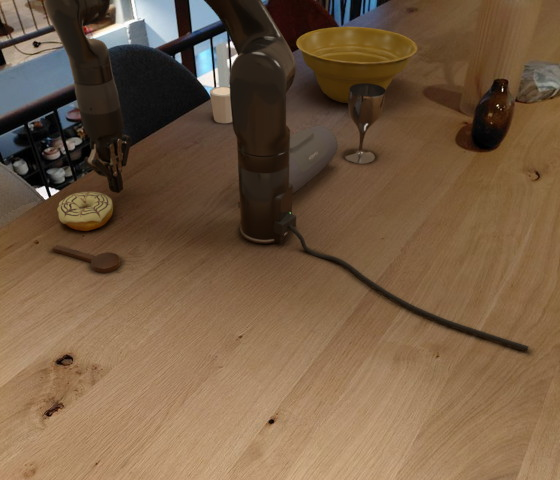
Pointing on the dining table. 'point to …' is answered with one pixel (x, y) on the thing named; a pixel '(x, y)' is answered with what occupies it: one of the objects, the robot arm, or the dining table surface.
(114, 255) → the spoon
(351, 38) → the planter bowl
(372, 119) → the wine glass
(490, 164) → the dining table surface
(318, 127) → the bluetooth speaker
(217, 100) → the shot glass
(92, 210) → the decorated donut
